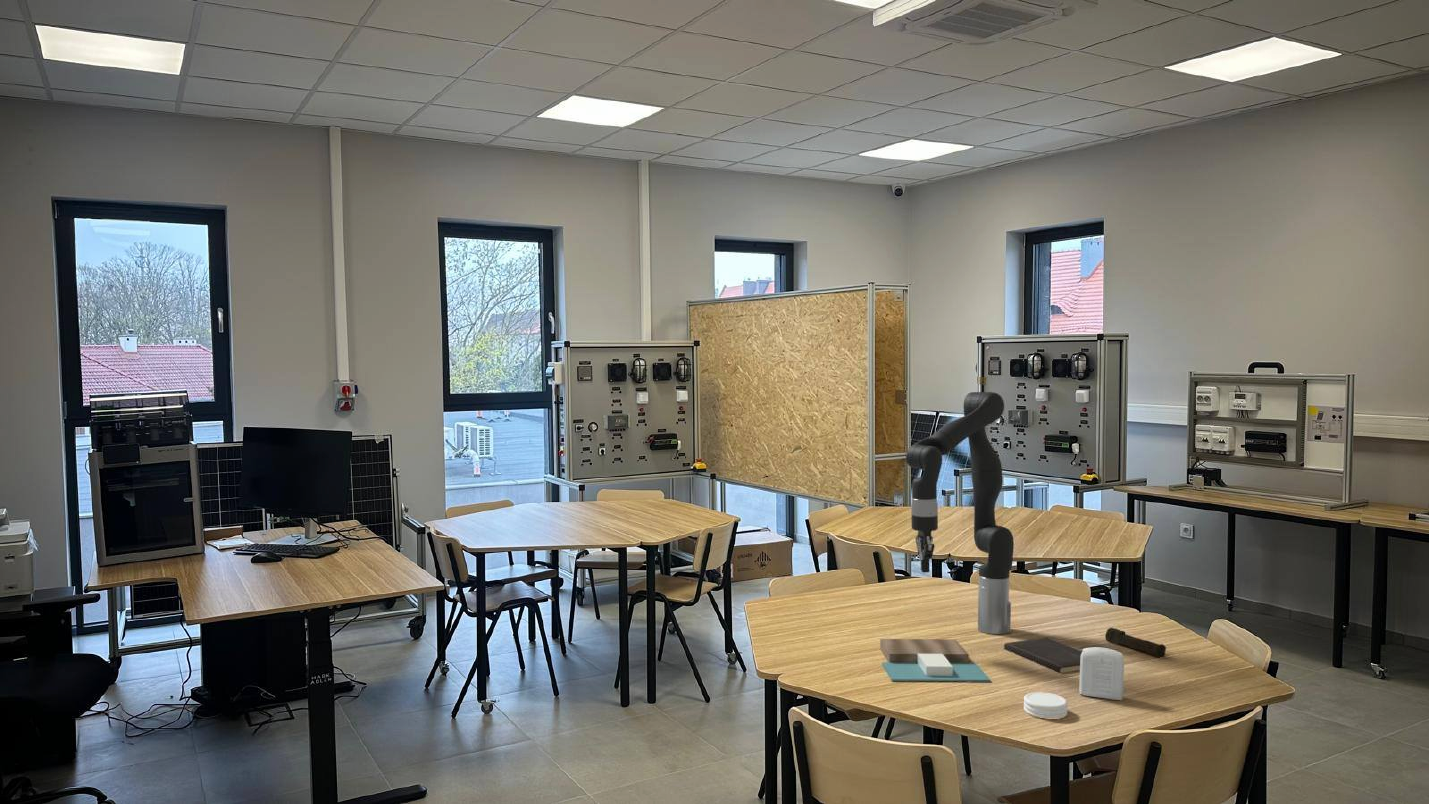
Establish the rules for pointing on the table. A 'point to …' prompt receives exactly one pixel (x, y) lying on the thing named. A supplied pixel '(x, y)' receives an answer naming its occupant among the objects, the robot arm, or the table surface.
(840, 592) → the table surface
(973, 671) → the mat
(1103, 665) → the white upright block
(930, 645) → the deck
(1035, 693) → the white disc stack
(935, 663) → the white flat block
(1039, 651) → the hardcover book
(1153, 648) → the hand tool
